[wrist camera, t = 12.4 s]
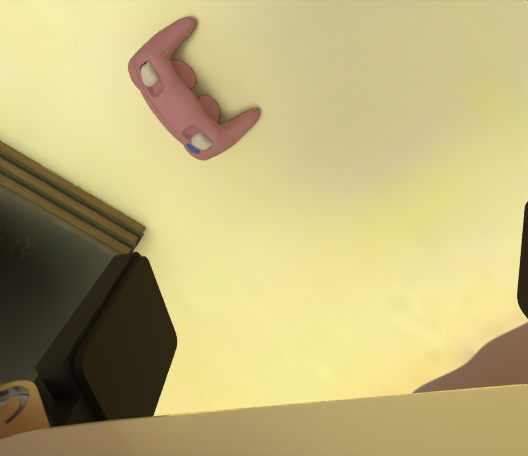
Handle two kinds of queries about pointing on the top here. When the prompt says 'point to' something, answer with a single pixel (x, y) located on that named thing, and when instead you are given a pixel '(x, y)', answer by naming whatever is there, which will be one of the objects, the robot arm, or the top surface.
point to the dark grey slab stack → (48, 257)
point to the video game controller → (183, 96)
